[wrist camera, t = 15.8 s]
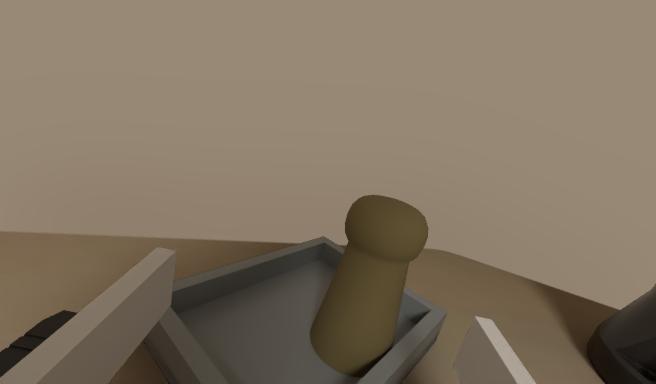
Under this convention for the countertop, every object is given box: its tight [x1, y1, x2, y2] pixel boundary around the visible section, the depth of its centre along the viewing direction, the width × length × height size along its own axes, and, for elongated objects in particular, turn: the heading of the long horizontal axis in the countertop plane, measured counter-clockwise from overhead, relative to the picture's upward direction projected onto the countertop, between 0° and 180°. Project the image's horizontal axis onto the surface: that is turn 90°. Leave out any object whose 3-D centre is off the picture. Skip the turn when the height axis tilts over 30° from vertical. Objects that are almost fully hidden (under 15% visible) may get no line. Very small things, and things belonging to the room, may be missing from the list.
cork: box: [310, 195, 428, 378], centre depth 21 cm, size 6×6×11 cm
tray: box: [143, 237, 447, 384], centre depth 23 cm, size 18×14×3 cm
